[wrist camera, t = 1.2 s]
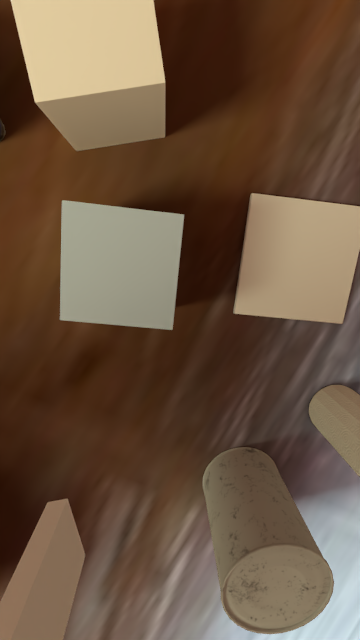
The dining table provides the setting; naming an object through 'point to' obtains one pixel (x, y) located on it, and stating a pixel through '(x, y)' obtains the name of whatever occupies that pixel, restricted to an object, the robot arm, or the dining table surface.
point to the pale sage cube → (119, 265)
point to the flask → (2, 131)
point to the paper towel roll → (339, 421)
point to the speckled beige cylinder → (262, 545)
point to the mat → (297, 259)
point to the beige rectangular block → (95, 68)
